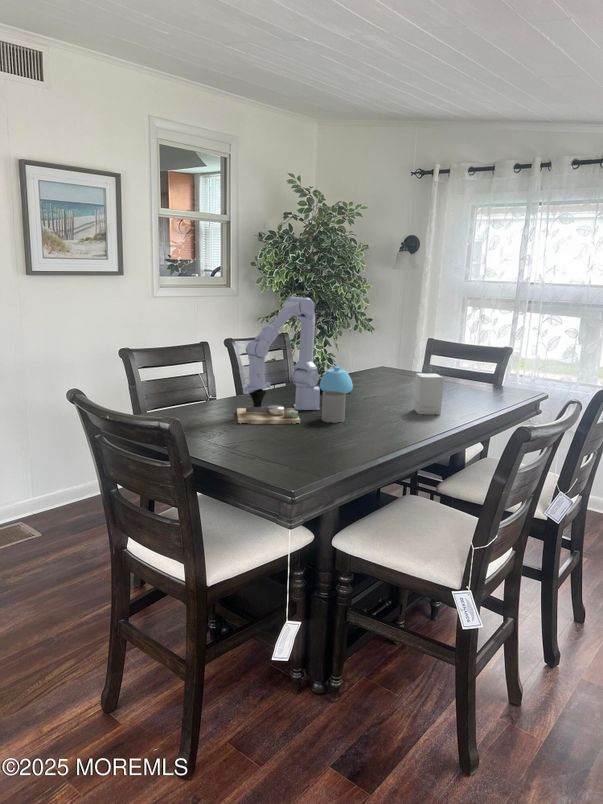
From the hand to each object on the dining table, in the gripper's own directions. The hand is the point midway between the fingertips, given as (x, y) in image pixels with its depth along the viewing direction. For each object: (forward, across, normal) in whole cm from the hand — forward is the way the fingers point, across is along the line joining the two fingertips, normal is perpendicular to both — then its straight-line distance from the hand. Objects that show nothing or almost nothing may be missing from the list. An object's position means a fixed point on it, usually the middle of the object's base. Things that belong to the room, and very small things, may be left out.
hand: (257, 409), depth 223 cm
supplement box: (+4, -48, +48) cm, 68 cm away
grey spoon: (+1, 0, +3) cm, 4 cm away
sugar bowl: (+4, -60, 0) cm, 60 cm away
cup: (+3, -13, +25) cm, 28 cm away
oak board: (+3, -1, +4) cm, 5 cm away
